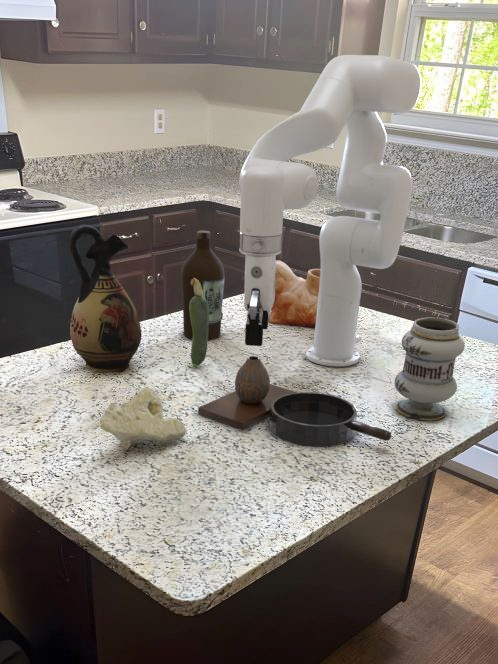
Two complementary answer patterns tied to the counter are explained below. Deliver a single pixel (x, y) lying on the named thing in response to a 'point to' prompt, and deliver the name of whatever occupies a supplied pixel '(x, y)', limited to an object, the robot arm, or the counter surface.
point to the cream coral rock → (141, 420)
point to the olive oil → (203, 284)
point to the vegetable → (199, 324)
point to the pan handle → (370, 430)
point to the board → (241, 408)
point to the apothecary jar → (428, 367)
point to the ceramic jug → (103, 307)
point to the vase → (252, 381)
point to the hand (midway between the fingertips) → (256, 336)
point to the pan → (312, 418)
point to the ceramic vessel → (295, 297)
